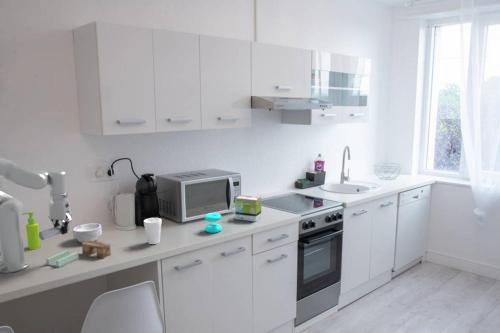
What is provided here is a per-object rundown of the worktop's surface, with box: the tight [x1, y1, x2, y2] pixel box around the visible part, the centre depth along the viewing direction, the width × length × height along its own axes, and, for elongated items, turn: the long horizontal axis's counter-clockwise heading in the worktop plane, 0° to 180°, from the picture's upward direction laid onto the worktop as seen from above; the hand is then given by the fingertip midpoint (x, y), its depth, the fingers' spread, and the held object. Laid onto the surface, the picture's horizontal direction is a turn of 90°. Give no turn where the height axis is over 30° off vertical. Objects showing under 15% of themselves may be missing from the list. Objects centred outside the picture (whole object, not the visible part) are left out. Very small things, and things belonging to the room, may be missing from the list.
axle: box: [39, 224, 70, 241], centre depth 190 cm, size 14×4×4 cm, turn 158°
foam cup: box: [143, 217, 163, 245], centre depth 218 cm, size 10×9×13 cm
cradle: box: [45, 250, 80, 268], centre depth 195 cm, size 12×9×3 cm
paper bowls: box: [72, 223, 103, 244], centre depth 225 cm, size 15×15×8 cm
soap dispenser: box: [21, 211, 41, 251], centre depth 213 cm, size 6×7×20 cm
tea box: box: [234, 194, 262, 223], centre depth 261 cm, size 15×10×15 cm, turn 67°
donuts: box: [204, 212, 223, 234], centre depth 238 cm, size 10×10×10 cm
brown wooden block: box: [81, 240, 112, 259], centre depth 203 cm, size 5×14×6 cm, turn 67°
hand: (60, 232), depth 193 cm, fingers closed on axle, 4 cm apart
